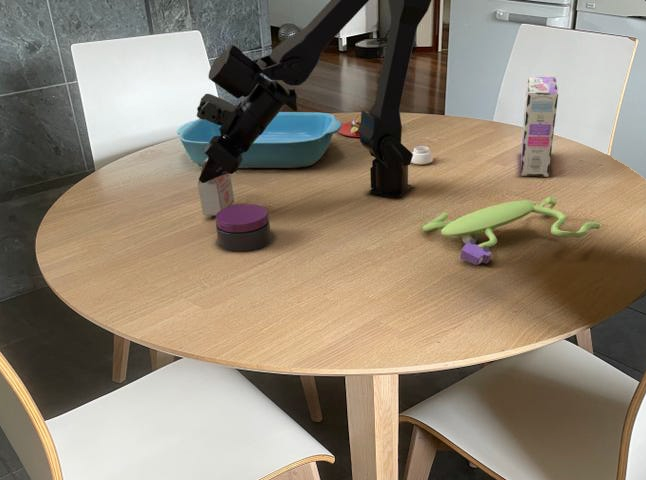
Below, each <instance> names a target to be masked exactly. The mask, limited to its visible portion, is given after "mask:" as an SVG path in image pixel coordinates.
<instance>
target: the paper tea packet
mask: <svg viewBox="0 0 646 480" xmlns="http://www.w3.org/2000/svg"><path fill="white" fill-rule="evenodd" d="M207 160H208V158H207V159H206V160H205V161H204V162H203V166H202V167H201V172H200V174H201V173H202V171H203V169H204V167H205V165H206V163H207ZM232 183H233V182H232V176H231V174H229V173H227V174H224V175H222V176H219V177H217V178H214V179H212V180H210V181H208V182H205V183H202V182H201V181H200V180H199V179H198V181H197V188H198V189H197V190H198V194H199V195H198V196H199V199H200V206H201V210H202V215H204V216H216V214H217V213H218V212H219V211H220V210H222V209H224V208H227V207H230V206H233V204H234V203H235V196H234V190H233V189H234V188H233V184H232Z"/></svg>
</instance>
